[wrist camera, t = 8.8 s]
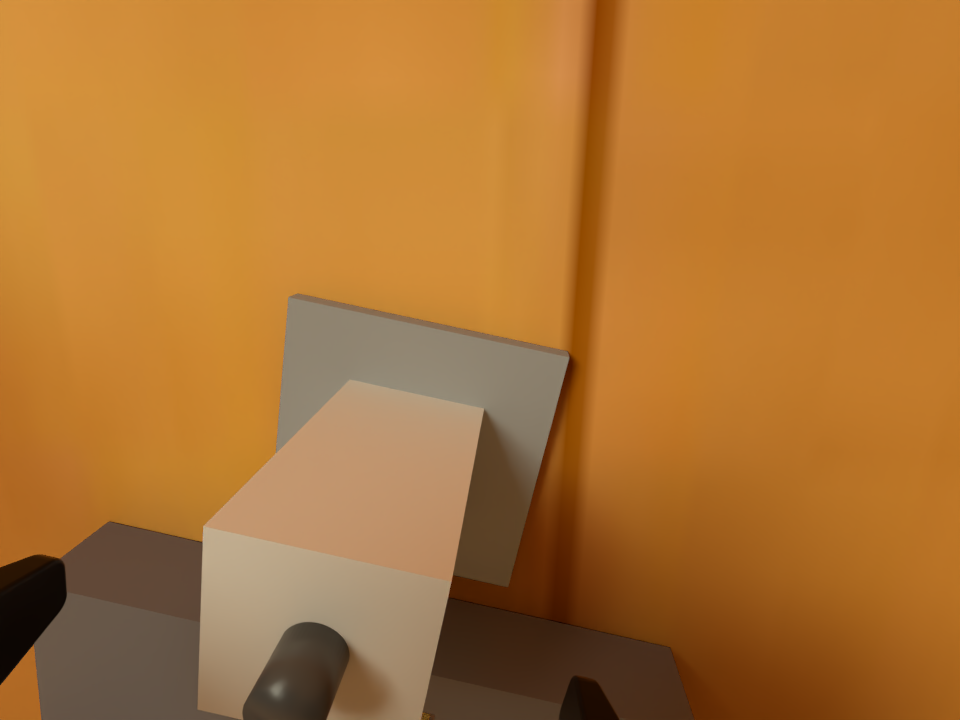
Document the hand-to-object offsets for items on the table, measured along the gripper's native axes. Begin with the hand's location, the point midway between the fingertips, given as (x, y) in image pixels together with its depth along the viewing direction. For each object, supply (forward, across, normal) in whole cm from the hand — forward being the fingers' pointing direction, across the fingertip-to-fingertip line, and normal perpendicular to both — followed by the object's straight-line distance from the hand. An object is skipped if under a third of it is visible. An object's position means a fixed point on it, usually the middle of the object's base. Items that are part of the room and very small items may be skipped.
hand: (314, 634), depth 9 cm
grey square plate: (+7, 0, 0) cm, 7 cm away
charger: (+7, 0, 0) cm, 7 cm away
